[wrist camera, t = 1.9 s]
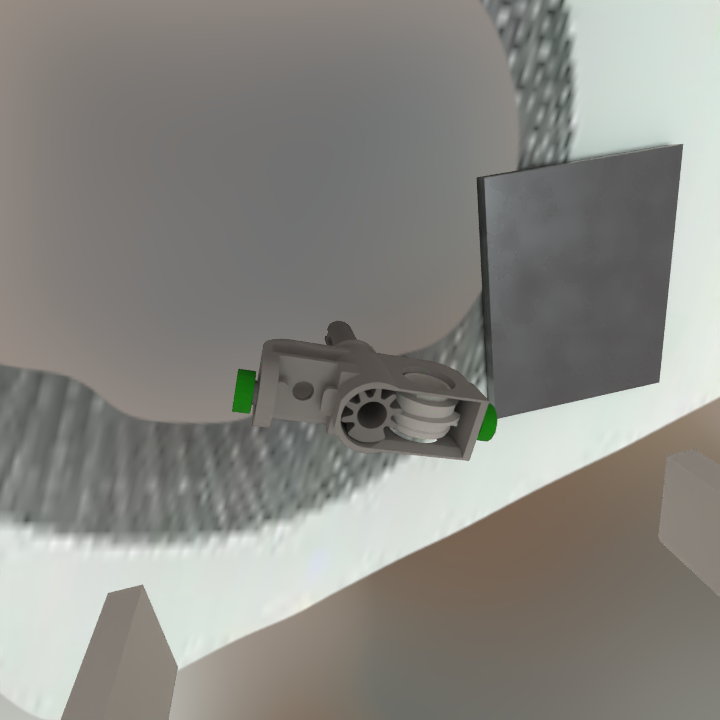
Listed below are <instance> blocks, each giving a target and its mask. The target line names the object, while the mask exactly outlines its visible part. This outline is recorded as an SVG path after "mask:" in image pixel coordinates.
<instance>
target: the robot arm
mask: <svg viewBox="0 0 720 720" xmlns="http://www.w3.org/2000/svg"><path fill="white" fill-rule="evenodd" d="M658 539H659V540H660V541H661V542H662V543H663V544H664V545H665V546H666V547H667V548H668V549H669V550H670V551H671V552H672V553H674V554H675V555H676V556H677V557H678V558H679V559H680V560H681V561H682V562H683V563H684V564H685V565H686V566H687V567H688V568H690V569H691V570H692V571H693V572H694V573H695V574H696V575H697V576H698V577H699V578H700V579H701V580H702V581H703V582H704V583H705V584H706V585H708V586H709V587H710V588H711V589H712V590H713V591H714V592H715V593H716V594H717V595H718V596H720V465H718V464H716V463H715V462H713V461H712V460H710V459H708V458H707V457H706V456H704V455H702V454H701V453H699V452H698V451H696V450H695V449H692V450H688V451H684V452H680V453H676V454H672V455H668V456H667V462H666V471H665V481H664V490H663V500H662V509H661V519H660V529H659V538H658ZM177 669H178V666H177V664H176V662H175V659H174V657H173V655H172V652H171V650H170V647H169V645H168V643H167V640H166V638H165V636H164V633H163V631H162V629H161V626H160V624H159V622H158V619H157V617H156V614H155V612H154V610H153V607H152V605H151V603H150V600H149V598H148V596H147V593H146V591H145V589H144V586H143V585H139V586H135V587H131V588H127V589H123V590H119V591H115V592H111V593H108V595H107V597H106V600H105V603H104V605H103V608H102V611H101V614H100V616H99V619H98V622H97V624H96V627H95V630H94V632H93V635H92V638H91V640H90V643H89V646H88V648H87V651H86V654H85V656H84V659H83V662H82V664H81V667H80V670H79V672H78V675H77V678H76V680H75V683H74V686H73V688H72V691H71V694H70V696H69V699H68V702H67V704H66V707H65V710H64V712H63V715H62V718H61V720H168V719H169V714H170V708H171V702H172V697H173V691H174V686H175V680H176V674H177Z"/></svg>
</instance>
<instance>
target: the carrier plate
mask: <svg viewBox="0 0 720 720" xmlns="http://www.w3.org/2000/svg"><path fill="white" fill-rule="evenodd" d="M682 150H683V144H676V145H665V146H659V147H653V148H648V149H642V150H636V151H630V152H624V153H618V154H612V155H606V156H601V157H595V158H589V159H583V160H577V161H571V162H565V163H559V164H554V165H548V166H542V167H536V168H530V169H524V170H518V171H512V172H507V173H501V174H495V175H489V176H483V177H478V178H477V193H478V213H479V232H480V251H481V271H482V291H483V311H484V330H485V350H486V370H487V389H488V400H489V403H490V404H492V405H493V406H494V407H495V410H496V413H497V419H498V418H503V417H507V416H512V415H516V414H521V413H525V412H529V411H534V410H538V409H543V408H547V407H552V406H556V405H561V404H565V403H569V402H574V401H578V400H583V399H587V398H592V397H596V396H601V395H605V394H609V393H614V392H618V391H623V390H627V389H632V388H636V387H641V386H645V385H649V384H654V383H658V382H659V379H660V369H661V359H662V349H663V339H664V329H665V319H666V309H667V299H668V289H669V280H670V270H671V260H672V250H673V240H674V230H675V220H676V210H677V200H678V190H679V180H680V170H681V160H682Z"/></svg>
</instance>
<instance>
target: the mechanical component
mask: <svg viewBox="0 0 720 720" xmlns="http://www.w3.org/2000/svg"><path fill="white" fill-rule="evenodd" d="M327 330H328V334H327V336H325V341H326V344H327V345H322V344H316V343H309V342H303V341H296V340H289V339H273V340H268V341H266V342H265V343H264V345H263V351H262V357H261V362H260V369H259V375H258V380H257V381H256V380H255V377H256V372H255V371H250V370H243V369H239V370H238V375H237V382H236V388H235V395H234V402H233V409H232V411H233V412H240V413H248V414H249V413H250V410H251V405H253V417H252V426H260V427H270V424H271V420H272V418H275V419H284V420H292V421H301V422H310V423H318V424H325V425H326V429H327V434H335V435H337V436H338V438H339V439H340V440H341V442H342V443H343V444H344V445H346V446H347V447H348V448H350V449H352V450H354V451H357V452H360V453H367V454H368V453H378V452H390V453H400V454H409V455H419V456H428V457H438V458H447V459H457V460H466V461H469V460H470V457H471V454H472V451H473V448H474V445H475V442H476V440H480V441H489V440H490V439H491V438H492V437H493V435H494V433H495V431H496V427H497V413H496V410H495V407H494V406H493V405H492V404H490V403H489V400H488V399H487V398H486V397H485V396H484V395H483V394H482V393H481V392H480V391H479V390H478V389H477V388H476V387H475V386H474V384H472V383H469V382H468V381H467V380H466V379H465V378H464V377H463V376H462V375H461V374H460V373H459V372H458V371H456V370H454V369H452V368H450V367H448V366H445V365H442V364H439V363H435V362H431V361H425V360H419V359H412V358H406V357H399V356H393V355H386V354H380V353H376V352H375V350H374V349H373V348H372V347H371V346H370V345H369V344H367V343H365V342H363V341H360V340H357V339H356V337H355V335H354V334H353V332H352V330H351V328H350V326H349V325H348V324H346V323H345V322H342V321H336V322H333V323H331V324H330V325H329V327H328V329H327ZM389 427H391V428H394V429H397V430H398V431H400V432H401V433H403V434H405V435H407V436H410V437H414V438H418V439H437V441H436V442H433V443H418V442H413V441H410V440H407V439H404V438H402V437H400V436H398V435H397V434H395V433H394V432H393V431H392V430H391V429H390V428H389Z"/></svg>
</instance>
